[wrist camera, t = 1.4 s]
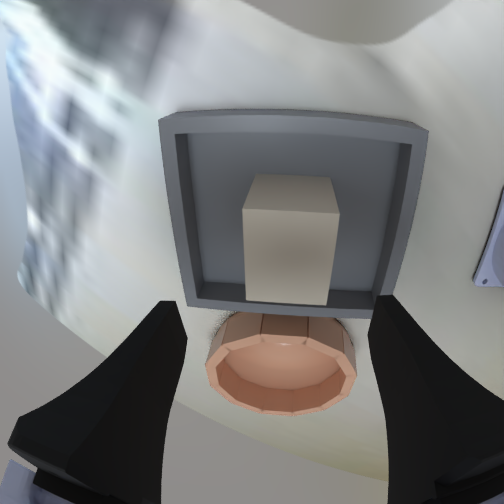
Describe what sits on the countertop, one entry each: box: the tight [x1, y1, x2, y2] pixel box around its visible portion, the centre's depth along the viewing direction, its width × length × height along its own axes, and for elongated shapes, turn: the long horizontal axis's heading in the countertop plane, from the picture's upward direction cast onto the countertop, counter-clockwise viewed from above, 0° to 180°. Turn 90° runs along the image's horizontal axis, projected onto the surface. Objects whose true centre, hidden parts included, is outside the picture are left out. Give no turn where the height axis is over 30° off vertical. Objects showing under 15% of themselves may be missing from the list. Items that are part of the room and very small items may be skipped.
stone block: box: [242, 174, 340, 305], centre depth 16 cm, size 4×5×4 cm
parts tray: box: [158, 109, 429, 319], centre depth 17 cm, size 13×12×2 cm
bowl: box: [205, 311, 357, 416], centre depth 24 cm, size 12×12×3 cm
